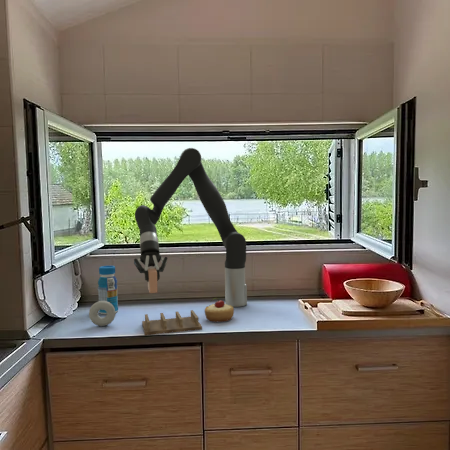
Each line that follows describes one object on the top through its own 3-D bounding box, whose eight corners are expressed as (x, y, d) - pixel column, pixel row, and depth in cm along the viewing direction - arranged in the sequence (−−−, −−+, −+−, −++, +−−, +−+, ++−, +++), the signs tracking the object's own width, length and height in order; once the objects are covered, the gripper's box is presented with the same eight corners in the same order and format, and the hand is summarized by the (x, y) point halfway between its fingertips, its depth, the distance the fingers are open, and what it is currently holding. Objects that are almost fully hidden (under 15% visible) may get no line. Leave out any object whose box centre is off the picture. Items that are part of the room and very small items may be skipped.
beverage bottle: (95, 314, 175) (94, 268, 174) (102, 309, 184) (100, 265, 183) (115, 314, 175) (113, 268, 174) (121, 309, 184) (119, 265, 182)
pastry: (237, 322, 161) (236, 300, 160) (207, 325, 159) (206, 302, 158) (230, 314, 173) (230, 293, 172) (202, 316, 170) (202, 295, 170)
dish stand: (194, 319, 167) (194, 308, 166) (202, 329, 153) (201, 318, 153) (142, 324, 161) (141, 313, 161) (144, 335, 148) (144, 324, 147)
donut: (88, 328, 157) (87, 302, 157) (90, 325, 161) (89, 300, 160) (115, 326, 159) (114, 301, 158) (116, 323, 162) (115, 298, 162)
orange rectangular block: (155, 287, 164) (155, 267, 164) (157, 292, 156) (157, 271, 155) (147, 287, 164) (147, 268, 163) (149, 293, 155) (148, 272, 154)
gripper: (131, 240, 165) (134, 275, 154) (167, 238, 168) (171, 273, 157) (132, 251, 170) (134, 287, 159) (166, 250, 173) (170, 284, 162)
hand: (152, 280), depth 158 cm, fingers closed on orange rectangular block, 3 cm apart
